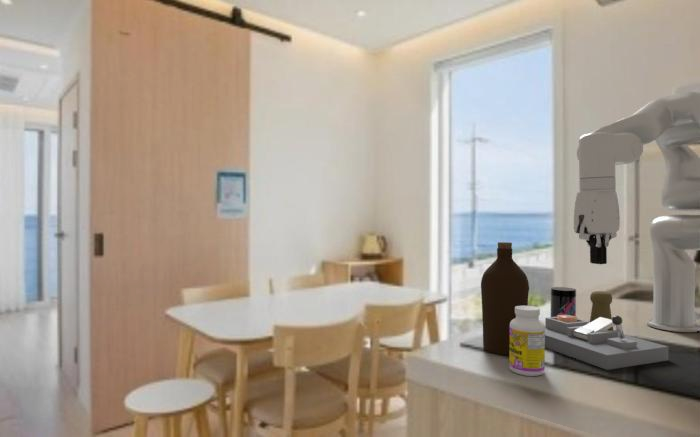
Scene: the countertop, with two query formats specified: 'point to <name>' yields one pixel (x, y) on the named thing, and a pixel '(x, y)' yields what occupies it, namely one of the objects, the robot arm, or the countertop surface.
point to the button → (567, 318)
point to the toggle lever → (618, 326)
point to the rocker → (593, 327)
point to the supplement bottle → (527, 342)
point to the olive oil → (501, 299)
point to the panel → (601, 346)
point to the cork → (601, 306)
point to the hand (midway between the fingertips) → (598, 263)
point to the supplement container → (563, 301)
